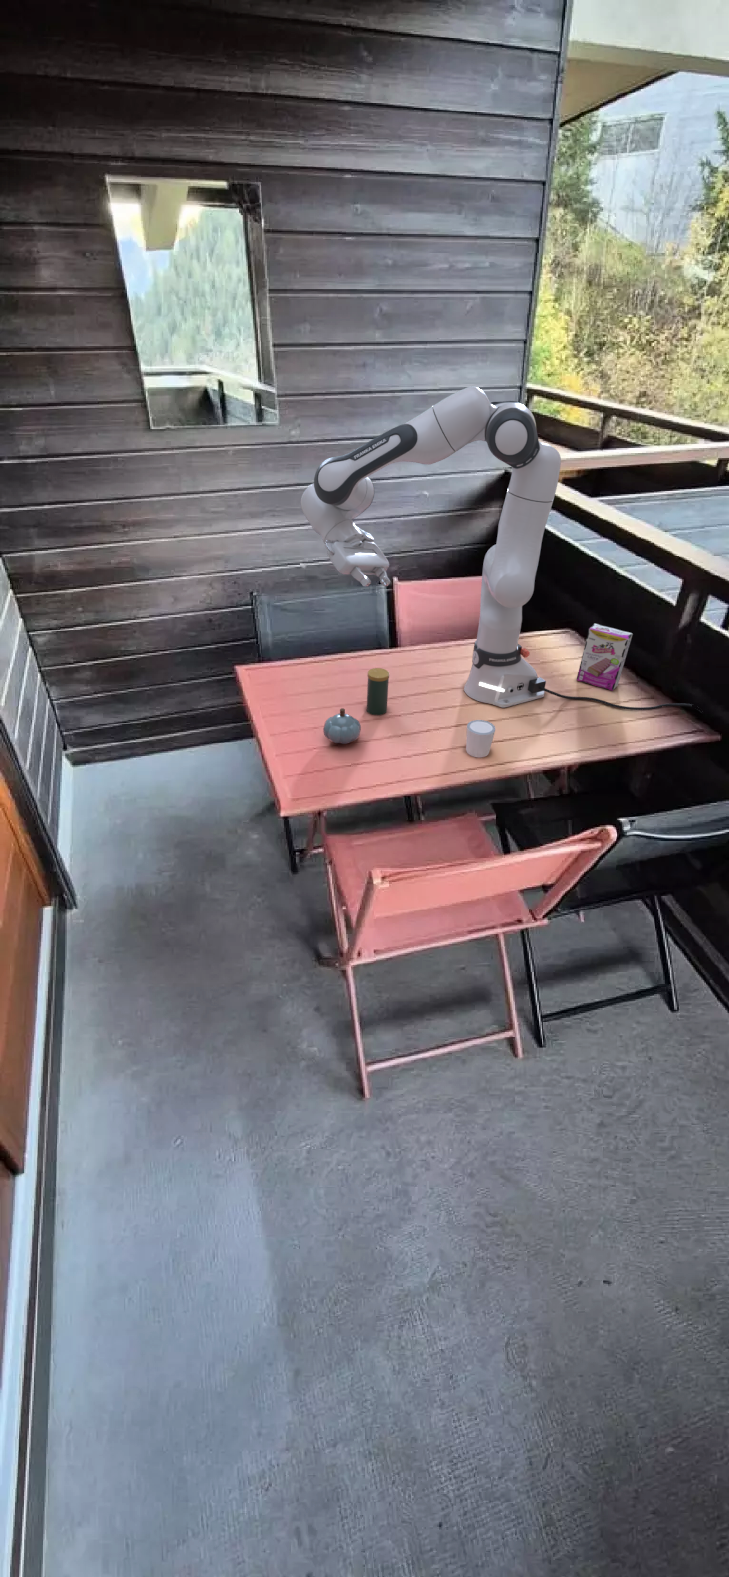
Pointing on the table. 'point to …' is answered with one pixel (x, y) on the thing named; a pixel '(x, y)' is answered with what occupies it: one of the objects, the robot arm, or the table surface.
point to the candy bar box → (604, 656)
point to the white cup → (479, 738)
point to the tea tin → (377, 691)
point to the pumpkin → (342, 728)
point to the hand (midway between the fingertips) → (377, 584)
